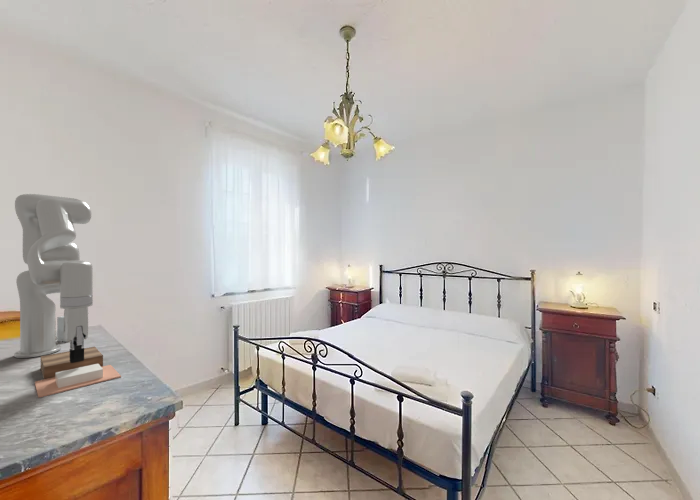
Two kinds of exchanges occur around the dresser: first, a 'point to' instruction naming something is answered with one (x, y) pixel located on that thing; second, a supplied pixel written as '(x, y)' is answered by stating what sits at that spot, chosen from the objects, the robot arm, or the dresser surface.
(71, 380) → the tile
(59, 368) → the block
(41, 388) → the mat
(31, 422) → the dresser surface
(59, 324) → the small box
